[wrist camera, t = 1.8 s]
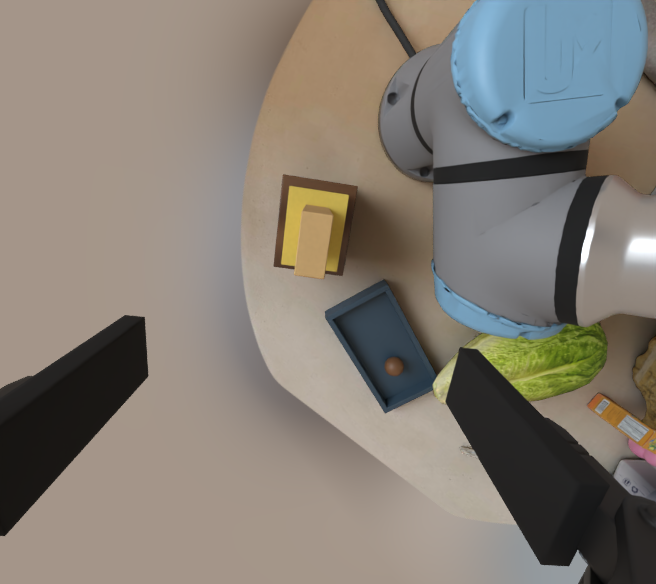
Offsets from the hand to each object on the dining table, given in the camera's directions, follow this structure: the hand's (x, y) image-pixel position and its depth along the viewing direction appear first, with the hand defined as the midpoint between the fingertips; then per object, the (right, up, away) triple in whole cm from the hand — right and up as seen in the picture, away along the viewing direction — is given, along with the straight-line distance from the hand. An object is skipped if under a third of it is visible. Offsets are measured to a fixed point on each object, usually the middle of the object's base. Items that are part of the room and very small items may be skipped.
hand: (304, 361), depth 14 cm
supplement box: (+48, -16, +43) cm, 67 cm away
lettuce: (+28, -6, +39) cm, 48 cm away
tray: (+10, -6, +38) cm, 40 cm away
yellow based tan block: (-1, +10, +22) cm, 24 cm away
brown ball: (+11, -9, +37) cm, 39 cm away
